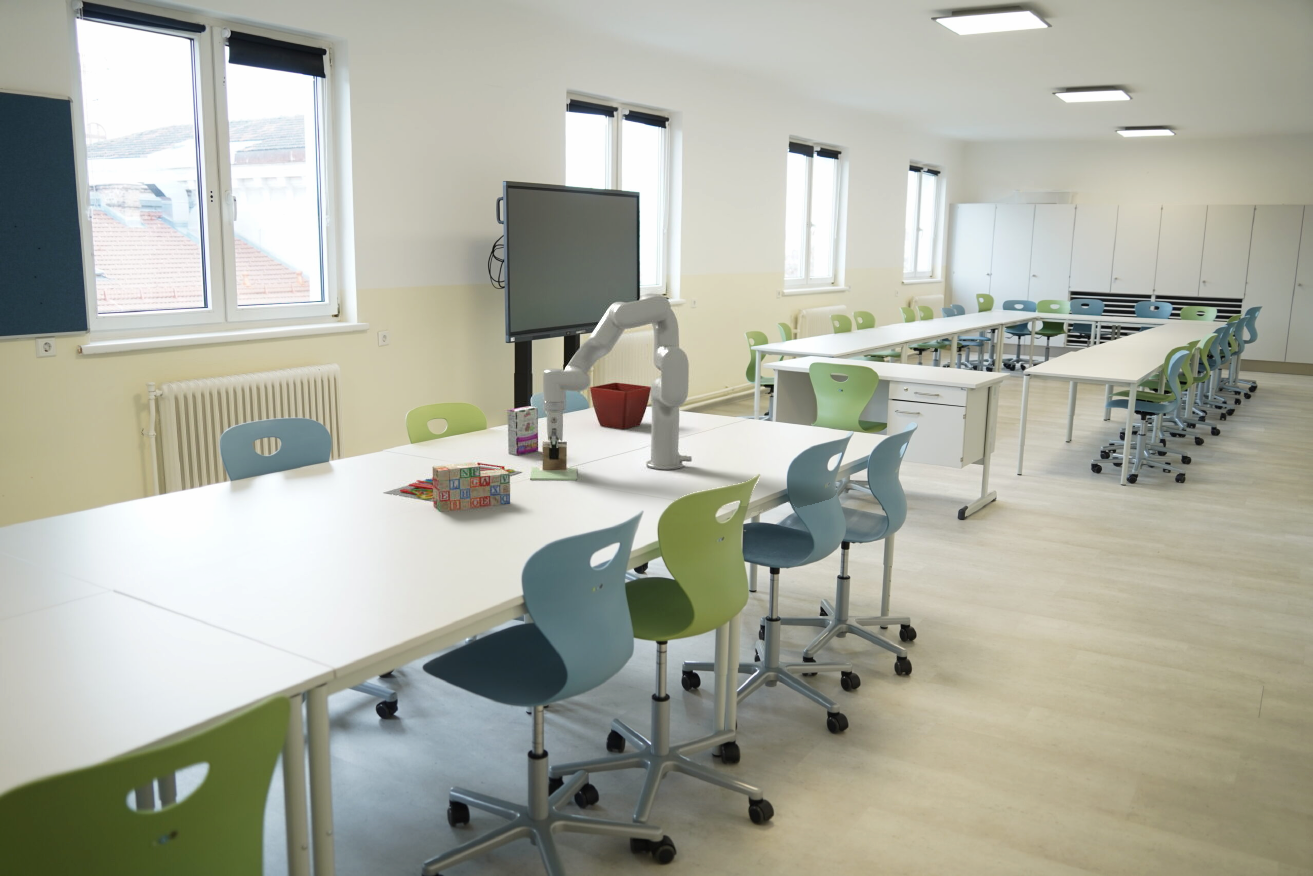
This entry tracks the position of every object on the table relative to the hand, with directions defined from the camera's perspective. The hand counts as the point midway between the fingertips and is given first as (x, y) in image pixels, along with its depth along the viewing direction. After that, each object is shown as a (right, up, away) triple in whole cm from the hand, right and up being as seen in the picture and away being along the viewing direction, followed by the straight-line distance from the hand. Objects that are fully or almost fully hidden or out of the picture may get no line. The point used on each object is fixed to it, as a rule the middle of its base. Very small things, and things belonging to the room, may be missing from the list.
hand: (554, 456), depth 331 cm
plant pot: (+19, +11, +86) cm, 89 cm away
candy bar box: (-14, +1, +29) cm, 33 cm away
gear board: (-30, -9, -17) cm, 35 cm away
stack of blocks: (-19, -14, -44) cm, 50 cm away
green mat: (0, -6, -4) cm, 7 cm away
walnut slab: (0, -4, +1) cm, 4 cm away
